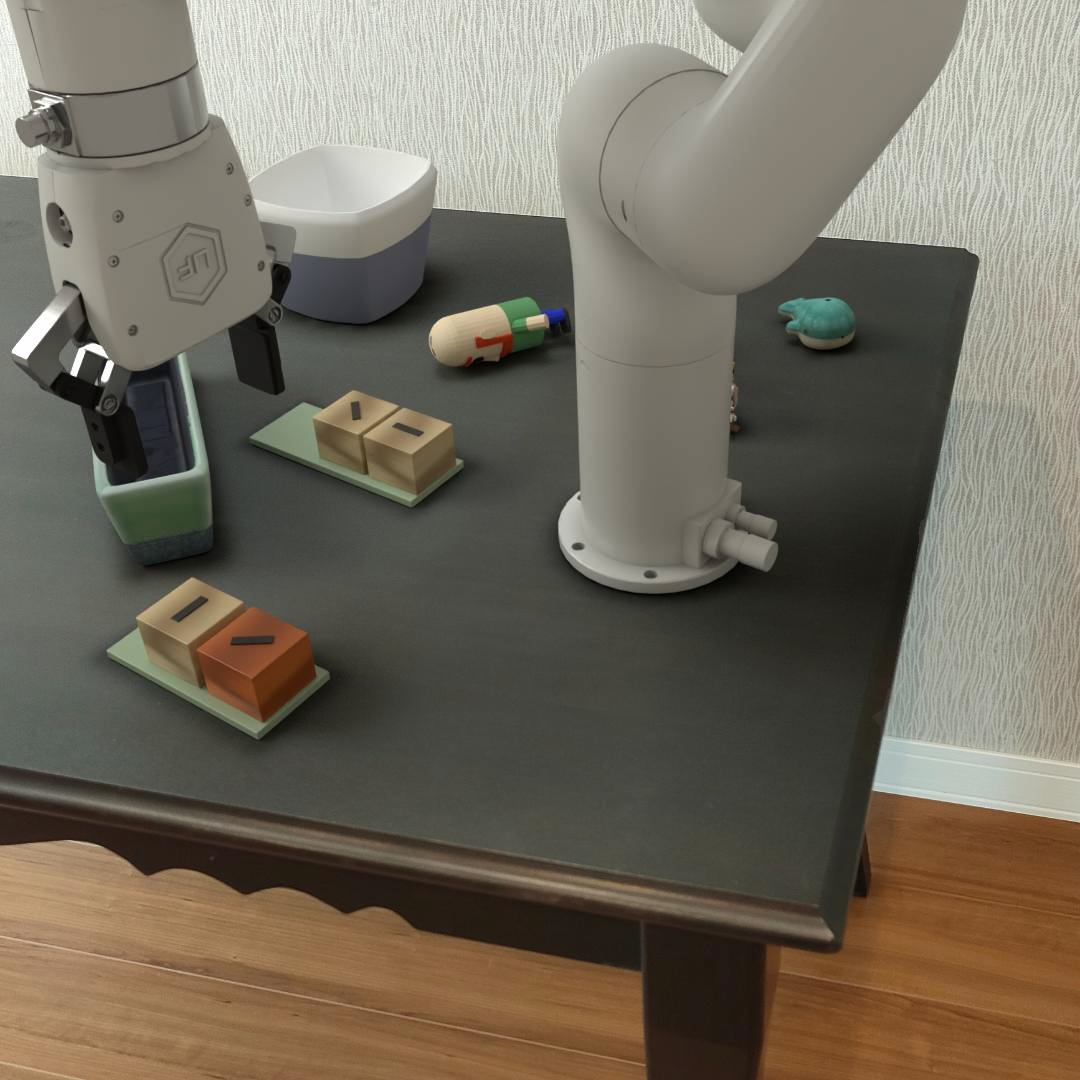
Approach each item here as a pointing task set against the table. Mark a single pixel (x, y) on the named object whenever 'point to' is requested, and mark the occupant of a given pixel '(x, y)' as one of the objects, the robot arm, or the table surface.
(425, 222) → the bowl
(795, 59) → the robot arm
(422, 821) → the table surface
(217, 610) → the tan slotted cube
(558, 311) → the toy figurine
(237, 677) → the orange cube
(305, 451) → the far board
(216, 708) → the near board
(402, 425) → the light wooden block
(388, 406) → the light wooden block
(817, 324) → the whale figurine
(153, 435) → the planter
